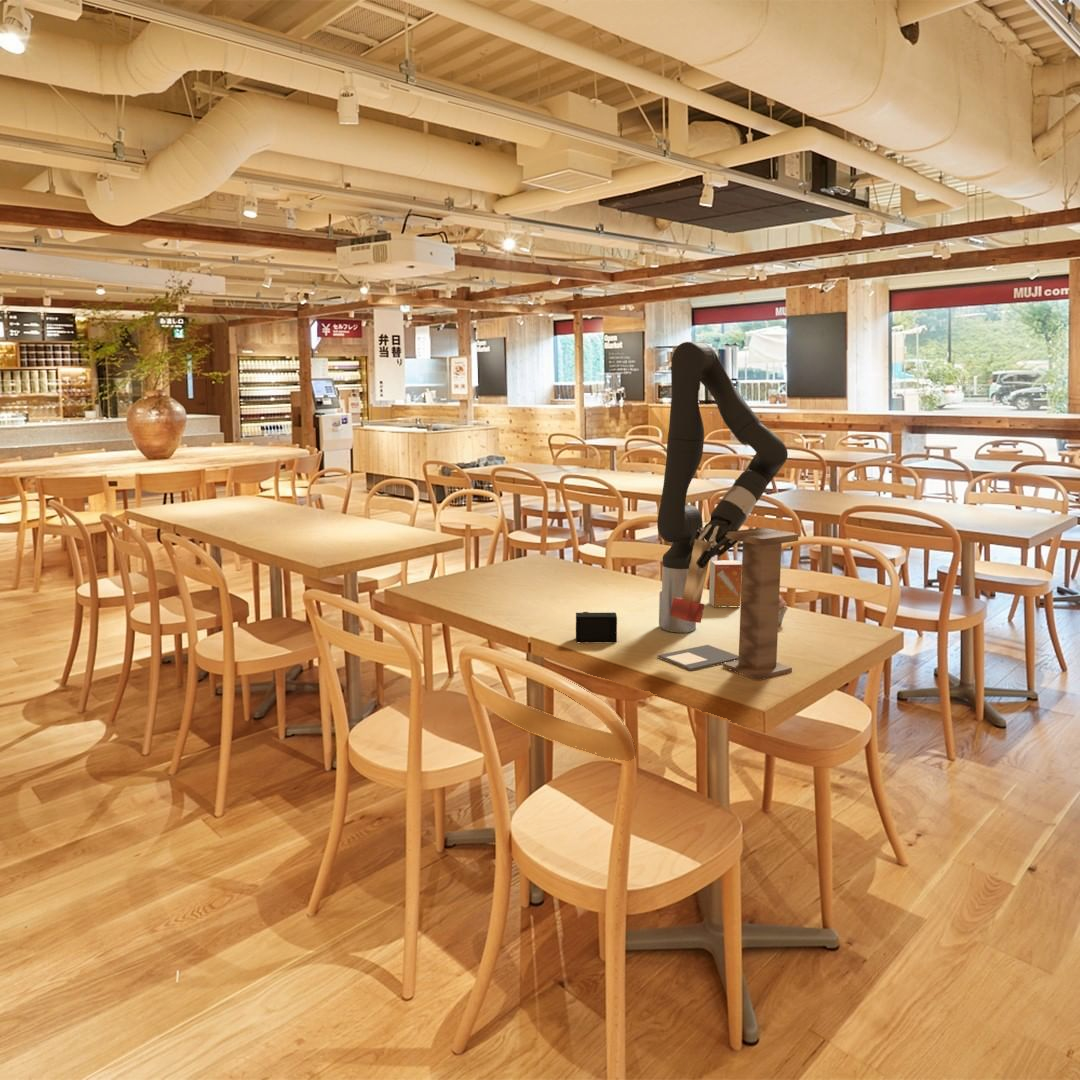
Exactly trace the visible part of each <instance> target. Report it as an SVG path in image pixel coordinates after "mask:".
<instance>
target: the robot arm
mask: <svg viewBox="0 0 1080 1080" xmlns="http://www.w3.org/2000/svg"><path fill="white" fill-rule="evenodd" d="M670 362H671V363H670V365H671V366H670V370H671V371H670V376H671V377H670V379H671V380H670V381H671V395H670V396H671V397H670V398H671V401H670V410H669V411H670V412H669V421H668V422H669V424H668V433H667V442H666V443H667V444H666V457H665V458H666V459H665V466H664V467H665V469H664V478H663V486H662V490H661V491H662V492H661V496H660V497H661V498H660V504H659V507H658V513H657V520H656V521H657V524H656V525H657V530H658V531H657V532H658V534H659V535H660V537H661V539H662V540H664V541H665V542H667V543H671V545H670V546H669V549H668V550H667V551H666V552H665V553H664V554H663V555H662V561H661V563H662V567H661V568H662V569H661V570H662V573H661V576H662V577H661V579H662V580H661V591H659V598H658V599H659V606H658V607H659V609H658V626H659V627H661V630H664V631H666V632H672V633H689V632H693V631H695V630H696V627H697V622H690V621H685V620H682V619H679V618H675V617H672V616H670V612H671V607H672V603H673V598H674V597H676V598H683V594H684V589H685V585H686V580H687V575H688V570H689V565H690V561H691V557H692V551H693V546H694V542H695V539H697V540H702V541H707V542H709V545H708V546H707V548H706V551H704V552H703V554H702V555H701V556H700V558H699V559H698V560H697V562H696V564H697V565H698V566H699V567H700V568H704V567H705V566H706V565H707V563H708V562H709V563H710V561H711V559H712V558H714V557H715V556H718V557H721V556H722V555H724V554H725V553H726V552H727V551H728V550H730V549H731V548H732V547H733V546H735V545H736V544H737V543H738V542H739V541H737V540H732V539H727V532H731V531H739V530H741V527H742V526H743V524H744V523H745V522H746V520H747V519H748V517H749V516H750V515H751V513H752V511H753V510H754V508H755V506H756V504H757V503H758V501H759V500H760V498H761V497H762V496H763V494H764V493H765V491H766V489H767V486H769V484H770V483H771V482H772V481H773V479H774V478H775V477H776V475H777V474H778V472H779V471H780V470H781V469H782V467H783V466H784V464H785V463H786V462H787V459H788V454H789V453H788V449H787V447H786V445H785V443H784V441H783V440H782V439H781V438H780V437H779V436H778V435H776V434H775V433H774V432H773V431H772V430H770V428H768V427H766V426H765V425H764V424H763V423H762V421H761V420H760V419H759V417H758V416H757V415H756V414H755V412H754V411H753V410H752V408H751V407H750V406H749V405H748V403H747V402H746V400H745V399H744V398H743V396H742V395H741V394H740V392H739V390H738V389H737V388H736V387H735V385H734V384H733V382H732V380H731V379H730V376H729V375H728V373H727V371H726V370H725V368H724V366H723V364H722V362H721V361H720V358H719V356H718V355H717V353H716V351H715V350H714V349H713V347H712V346H711V345H710V344H708V343H706V342H702V341H685V342H681V343H679V345H678V346H677V347H675V349H674V351H673V353H672V355H671V361H670ZM700 384H702V385H703V386H704V387H705V388H706V389H707V390H708V392H709V393H710V394H711V396H712V398H713V399H714V402H715V404H716V405H717V409H718V411H719V414H720V416H721V418H722V420H723V422H724V423H725V425H726V427H728V429H729V431H731V433H732V434H733V436H734V437H735V438H736V439H737V441H738V442H739V443H740V444H742V445H744V446H746V445H749V447H750V448H752V449H753V450H754V452H755V455H754V456H753V457H752V459H751V461H750V462H749V463H748V465H747V467H746V468H745V470H744V471H742V473H741V474H740V475H739V476H738V478H737V479H736V480H735V482H734V483H733V485H732V486H731V487H730V488H729V489H728V490H727V491H726V492H725V494H724V495H723V496H722V498H721V499H720V501H719V502H718V504H717V505H716V506H715V507H714V509H713V510H712V511H711V513H710V520H709V522H708V523H706V524H705V525H704V524H703V517H702V515H701V512H700V511H699V509H698V508H697V507H696V506H694V505H691V504H686V503H687V502H686V501H687V495H688V490H689V486H690V485H691V482H692V480H693V478H694V476H695V475H696V473H697V470H698V468H699V466H700V464H701V461H702V459H703V452H704V444H705V427H704V421H703V417H702V415H701V411H700V406H699V405H700V404H699V403H700V402H699V391H700Z"/></svg>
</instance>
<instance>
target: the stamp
mask: <svg viewBox="0 0 1080 1080" xmlns="http://www.w3.org/2000/svg"><path fill="white" fill-rule="evenodd" d="M708 545H709V542H707V541H706V540H705V541H702V540H697V539H695V542H694V546H693V551H692V557H691V561H690V565H689V570H688V575H687V580H686V585H685V589H684V594H683V598H676V597H674V598H673V603H672V607H671V612H670V616H672V617H675V618H679V619H682V620H685V621H690V622H696V624H698V623H699V624H701V623H702V618H703V613H704V609H705V606H706V605H705V603H701V602H702V597H703V596H702V595H703V591H704V588H705V587H704V586H705V582H706V578H707V572H708V568H709V565H710V561H709V562H708V563H707V565H706V566H705V567H704V568H700V567H699V566H698V565H697V564H696V562H697V560H698V559H699V558H700V556H701V555H702V554H703V552H704V551H706V548H707V546H708Z"/></svg>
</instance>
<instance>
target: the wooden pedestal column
mask: <svg viewBox="0 0 1080 1080" xmlns="http://www.w3.org/2000/svg"><path fill="white" fill-rule="evenodd" d="M727 539H732V540H737V541H738V542H742V553H741V554H742V557H741V564H742V577H741V599H740V607H739V608H740V609H739V610H740V611H739V613H740V614H739V636H738V637H739V639H738V640H739V641H738V656H739V660H735V661H730V662H726V663H723V664H722V668H723V667H725V668H724V669H726V668H727V670H728V669H731V670H732V671H731V670H730V671H731V672H734V671H736V672H738V673H737V674H739V673H741V674H740V675H742V674H743V675H742V676H744V675H745V677H747V678H749V677H750V679H752V678H753V680H755V679H756V680H755V681H760V679H761V680H764V679H763V678H765V679H768V678H773V677H778V676H781V675H780V674H782V675H785V673H786V674H789V673H788V672H790V673H792V672H793V667H791V666H790V665H789V666H788V665H785V664H783V663H780V662H777V660H778V659H777V657H778V656H777V655H778V639H779V638H778V637H779V635H778V633H779V626H778V615H779V595H780V588H781V569H782V568H781V566H782V548H783V547H782V544H786V543H792V542H799V534H798V533H793V532H788V531H782V530H778V529H773V528H772V529H771V528H766V527H756V528H748V529H739V530H738V531H731V532H727ZM736 672H735V673H736ZM772 676H773V677H772Z"/></svg>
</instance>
